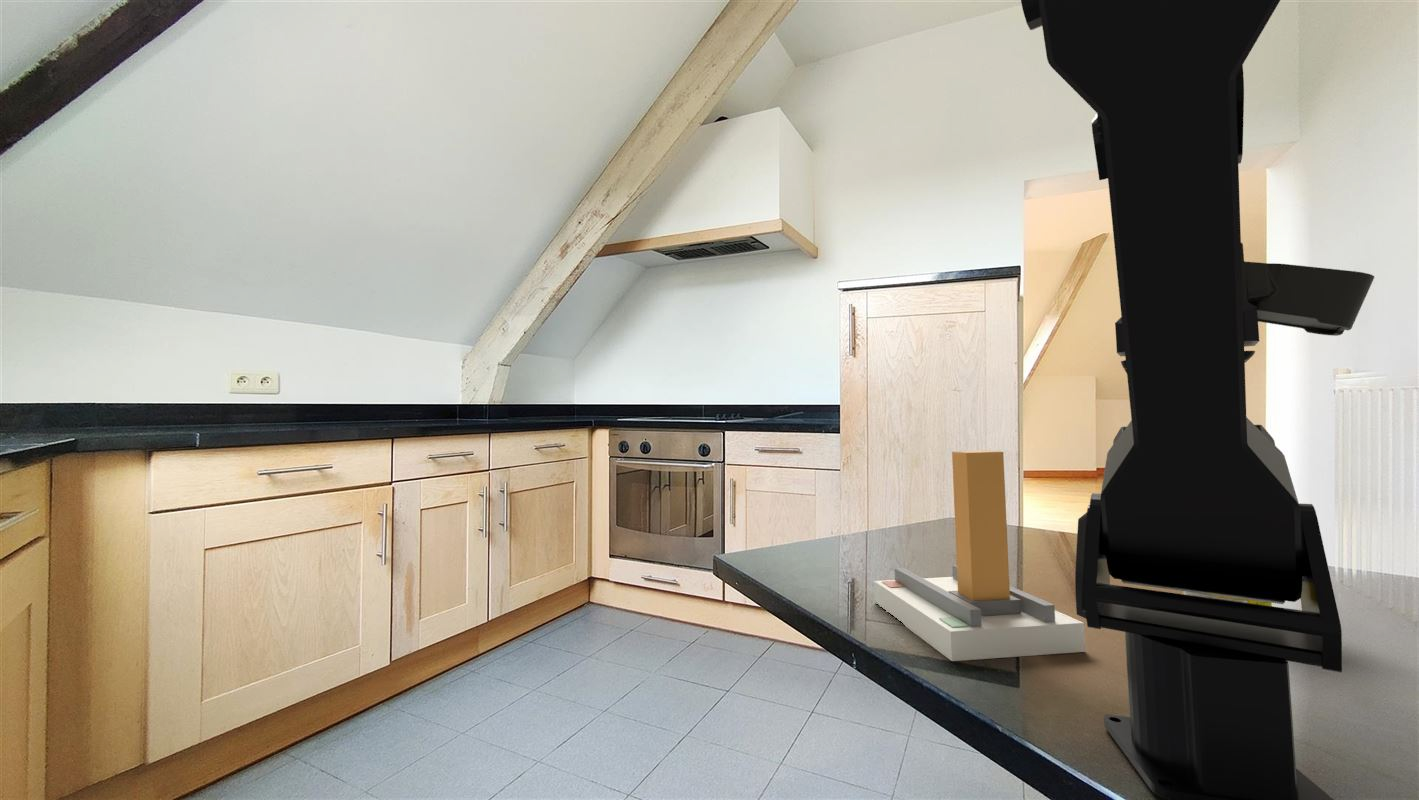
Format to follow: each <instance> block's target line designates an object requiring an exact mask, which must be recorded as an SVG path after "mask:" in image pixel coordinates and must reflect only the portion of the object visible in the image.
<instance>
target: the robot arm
mask: <svg viewBox="0 0 1419 800" xmlns="http://www.w3.org/2000/svg"><path fill="white" fill-rule="evenodd" d="M1280 2H1281V0H1020V3H1021V7H1022V11H1023V15H1024V18H1025V23H1026V25H1027V27H1028V28H1029V30H1030V31H1034V30H1036V29H1039V28H1041V27H1042V32H1043V33H1042V34H1043V40H1044V46H1045V47H1044V48H1045V53H1046V54H1045V55H1046V58H1047V63H1048V64H1049V66H1050V67H1051V68H1052V69H1053V70H1054V72H1056V74H1058V75H1059V76H1060V78H1062V79H1063V81H1065V82H1066V83H1067V84H1068V85H1069V86H1070V87H1071V88H1072V90H1073V91H1075V93H1077V95H1078V96H1079V97H1081V98H1082V99H1083V101H1085V103H1086V104H1087V105H1089V107H1090V108H1092V110H1094V111H1095V113H1096V114H1095V116H1094V118H1093V119H1092V120H1091V131H1092V132H1091V133H1092V138H1093V139H1092V140H1093V144H1094V145H1093V147H1094V152H1095V159H1096V167H1097V173H1098V181H1103V180H1107V183H1108V192H1109V193H1108V194H1109V202H1110V204H1109V205H1110V212H1111V213H1110V214H1111V222H1112V234H1113V242H1114V254H1115V262H1116V263H1115V264H1116V274H1117V285H1118V294H1119V295H1118V296H1119V305H1120V312H1121V313H1120V314H1121V317H1119V319H1118V320H1117V321H1116V322H1114V324H1115V343H1116V354H1117V355H1118V356H1120V357H1125V359H1124V360H1121V361H1120V364H1121V366H1122V368H1123V370H1124V371H1125V373H1126V377H1127V386H1128V387H1127V388H1128V397H1129V409H1130V419H1131V420H1130V422H1129V423H1128V425H1127V426H1121V427H1120V428H1119V430H1118V432H1117V434H1116V435H1115V436H1114V438H1113V441H1112V443H1113V444H1112V445H1111V447H1110V448H1109V450H1108V451H1107V453H1106V459H1105V466H1104V472H1103V477H1102V485H1101V491H1100V493H1095V492H1094V493H1091V495H1090V501H1089V504H1088V505H1087V511H1086V512H1085V513H1083V514H1082V516H1080V517H1078V519H1077V532H1076V535H1077V537H1076V553H1075V554H1076V556H1075V570H1074V572H1075V573H1074V574H1075V580H1074V581H1075V582H1074V587H1075V589H1074V590H1075V605H1076V606H1075V608H1076V610H1075V611H1076V615H1077V616H1079V617H1081V618H1084V619H1085V620H1086V625H1087V628H1092V629H1097V630H1101V629H1108V630H1113V631H1118V632H1124V638H1125V639H1124V641H1125V657H1126V671H1127V672H1126V673H1127V674H1126V675H1127V676H1126V677H1127V692H1128V693H1127V695H1128V707H1129V708H1128V710H1129V712H1128V713H1129V716H1124V715H1115V714H1105V715H1104V716H1103V725H1104V727H1105V730H1107V732H1108V733H1109V734H1110V736H1111V737H1112V738H1113V739H1114V742H1115V743H1116V744H1117V745H1118V747H1119V748H1120V749H1121V751H1122V752H1123V753H1124V756H1125V757H1126V758H1127V759H1128V760H1129V762H1130V763H1131V765H1132V766H1133V767H1134V769H1135V770H1136V771H1137V772H1138V774H1139V775H1140V777H1141V778H1142V780H1143V782H1144V783H1145V784H1146V785H1147V786H1148V788H1149V789H1150V791H1151V792H1152V793H1154V794H1155V795H1156V796H1157V797H1159V798H1161V799H1164V800H1335V799H1334V798H1332V797H1331V796H1330V795H1329V794H1328V793H1326V792H1325V791H1324V790H1323V789H1322V788H1321V787H1319V786H1318V785H1317V784H1316V783H1315V782H1313V781H1312V780H1311V779H1310V778H1309V777H1307V776H1306V775H1305V774H1304V773H1303V772H1301V771H1300V770H1299V769H1298V768H1297V764H1296V752H1295V750H1296V749H1295V737H1294V736H1295V735H1294V724H1293V723H1294V721H1293V708H1292V707H1293V706H1292V694H1291V682H1290V681H1291V680H1290V666H1289V665H1290V664H1289V662H1292V663H1299V664H1304V665H1308V666H1315V667H1320V668H1321V670H1325V671H1329V672H1330V671H1331V672H1337V673H1342V671H1343V661H1342V660H1343V653H1342V652H1343V651H1342V650H1343V648H1342V647H1343V645H1342V643H1343V641H1342V639H1343V635H1342V633H1343V632H1342V624H1341V620H1340V616H1339V610H1338V605H1337V602H1336V596H1335V592H1334V588H1333V583H1332V578H1331V575H1330V570H1329V565H1328V561H1327V556H1326V551H1325V548H1324V546H1325V545H1324V543H1323V542H1324V541H1323V538H1322V534H1321V529H1320V524H1319V520H1318V517H1317V511H1316V509H1315V507H1314V505H1313V503H1299V500H1298V497H1297V493H1296V489H1295V486H1294V483H1293V481H1292V477H1291V472H1290V469H1289V467H1288V464H1287V460H1286V456H1285V455H1284V453H1283V452H1282V451H1281V450H1280V449H1279V448H1278V447H1277V446H1276V443H1275V440H1274V438H1273V437H1272V435H1271V434H1270V433H1269V432H1268V431H1267V429H1265V427H1264V426H1263V425H1262V424H1254V423H1253V421H1251V419H1249V418H1248V417H1247V396H1246V393H1247V392H1246V363H1247V362H1248V361H1249V360H1250V359H1251V358H1252V357H1253V356H1254V355H1255V354H1256V351H1255V350H1245V347H1254V346H1256V345H1257V344H1258V343H1259V342H1260V333H1259V332H1260V331H1259V323H1266V324H1272V325H1277V326H1284V327H1291V328H1297V329H1303V330H1304V331H1305V332H1306V333H1310V334H1316V335H1322V336H1331V337H1333V336H1334V337H1336V336H1341V335H1343V334H1344V333H1345V331H1350V330H1352V328H1353V325H1354V324H1355V322H1356V319H1357V317H1358V315H1359V313H1360V311H1361V308H1362V306H1363V304H1364V302H1365V300H1366V298H1367V295H1368V293H1369V290H1370V289H1371V286H1372V283H1373V282H1374V279H1375V276H1374V275H1373V274H1370V273H1367V272H1361V271H1356V270H1347V269H1346V270H1345V269H1335V268H1326V267H1317V266H1316V267H1315V266H1307V265H1298V264H1289V263H1288V264H1287V263H1271V262H1269V263H1267V262H1255V261H1245V255H1244V244H1243V242H1241V241H1242V239H1241V238H1242V236H1241V233H1242V232H1241V211H1240V210H1241V209H1240V208H1241V206H1240V205H1241V204H1240V175H1239V173H1240V172H1239V164H1241V163H1242V159H1243V152H1244V150H1243V148H1244V115H1245V114H1244V112H1245V111H1244V109H1245V107H1244V104H1245V81H1244V79H1245V78H1244V63H1245V61H1246V60H1247V58H1248V56H1249V54H1250V53H1251V51H1252V49H1253V48H1254V46H1255V44H1256V43H1257V41H1258V39H1259V38H1260V36H1261V34H1262V33H1263V31H1264V29H1265V28H1266V25H1267V24H1268V22H1269V20H1270V18H1271V17H1272V15H1273V14H1274V13H1275V10H1276V9H1277V7H1278V6H1279V3H1280ZM1111 578H1112V579H1114V580H1120V581H1121V582H1122V583H1123V584H1126V585H1127V584H1129V585H1136V586H1142V587H1143V586H1144V587H1150V588H1151V587H1152V588H1157V589H1158V588H1159V589H1164V590H1171V591H1173V590H1174V591H1179V592H1182V591H1187V592H1194V593H1202V594H1209V595H1217V596H1225V597H1232V598H1240V599H1247V600H1255V601H1262V602H1270V603H1271V604H1277V605H1278V604H1279V605H1283V604H1285V603H1286V602H1291V603H1292V602H1293V603H1295V602H1297V601H1299V600H1300V606H1301V609H1295V608H1288V607H1287V608H1285V607H1280V606H1278V607H1277V606H1273V605H1272V606H1265V605H1258V604H1251V603H1243V602H1236V601H1228V600H1221V599H1214V598H1206V597H1199V596H1191V595H1184V594H1182V593H1175V592H1167V591H1161V590H1152V589H1148V588H1147V589H1146V588H1139V587H1131V586H1124V585H1117V584H1111Z"/></svg>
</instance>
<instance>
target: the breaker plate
mask: <svg viewBox="0 0 1419 800" xmlns="http://www.w3.org/2000/svg"><path fill="white" fill-rule="evenodd" d="M951 569H952V576H948V577H947V576H944V577H926V578H924V577H921V576H919V575H917V574H916V573H914V572H912V571H910V570H908V569H906V568H904V567H894V579H887V580H873V586H874V587H873V591H874V592H873V595H874V596H873V597H874V601H875V600H876V601H877V602H878V603H879V604H880V605H882V606H883V607H884V608H885V609H886V610H887V611H888V612H889V613H891V614H892V615H893V616H894V617H896V618H897V619H898V620H899V621H901V622H902V623H903V624H904V625H905V627H906V628H907V629H908V630H910V631H911V632H913V633H914V634H915V635H916V636H917V637H919V638H920V639H921V640H923V641H924V642H926V643H927V644H928V645H929V646H931V647H932V648H934V649H935V650H936V651H938V652H939V654H941V655H943V657H946V658H947V659H948V660H949V661H951V662H958V661H959V662H961V661H972V660H973V661H974V660H975V661H976V660H986V659H987V660H989V659H1000V658H1002V659H1003V658H1016V657H1017V658H1018V657H1030V656H1043V655H1045V656H1046V655H1058V654H1072V653H1074V654H1075V653H1085V652H1086V640H1085V639H1086V638H1085V636H1086V635H1085V623H1084V622H1082V621H1080V620H1079V619H1076V618H1073V617H1071V616H1069V615H1067V614H1064V613H1062V612H1060V611H1058V610H1056V608H1055V604H1053V603H1050V602H1049V601H1047V600H1044V599H1041V598H1039V597H1037V596H1035V595H1032V594H1031V593H1027V592H1025V591H1023V590H1020V589H1018V588H1017V587H1013V586H1011V585H1009V586H1010V595H1011V596H1014V597H1016V598H1018V599H1020V600H1021V613H1019V614H1002V615H986V616H981V609H979V608H978V607H976V606H974V605H972V604H970V603H968V602H966V601H964V600H963V599H961V598H959V597H957V596H955V595H953V594H951V593H949V592H948V591H958V583H957V564H953V565H952V568H951ZM894 617H893V618H894ZM898 620H897V621H898ZM899 621H898V622H899ZM902 623H901V624H902ZM903 624H902V625H903ZM904 625H903V626H904Z"/></svg>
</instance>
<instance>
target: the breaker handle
mask: <svg viewBox="0 0 1419 800" xmlns="http://www.w3.org/2000/svg"><path fill="white" fill-rule="evenodd" d="M951 455H952V462H951V463H952V482H953V484H952V485H953V507H954V508H953V509H954V526H955V527H954V531H955V551H956V552H955V553H956V558H955V559H956V565H957V583H958V591H948V592H949V593H951V594H953V595H955V596H957V597H959V598H961V599H963V600H964V601H966V602H968V603H970V604H972V605H974V606H976V607H978V608H979V609H981V616H986V615H1002V614H1019V613H1021V600H1020V599H1018V598H1016V597H1014V596H1011V595H1010V586H1011V585H1010V569H1009V548H1008V546H1009V544H1008V526H1007V525H1008V524H1007V507H1006V506H1007V504H1006V503H1007V502H1006V483H1005V482H1006V481H1005V464H1004V463H1005V461H1004V458H1005V457H1004V452H1003V451H998V450H997V451H995V450H971V451H970V450H968V451H967V450H965V451H963V450H962V451H952V452H951Z"/></svg>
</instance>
